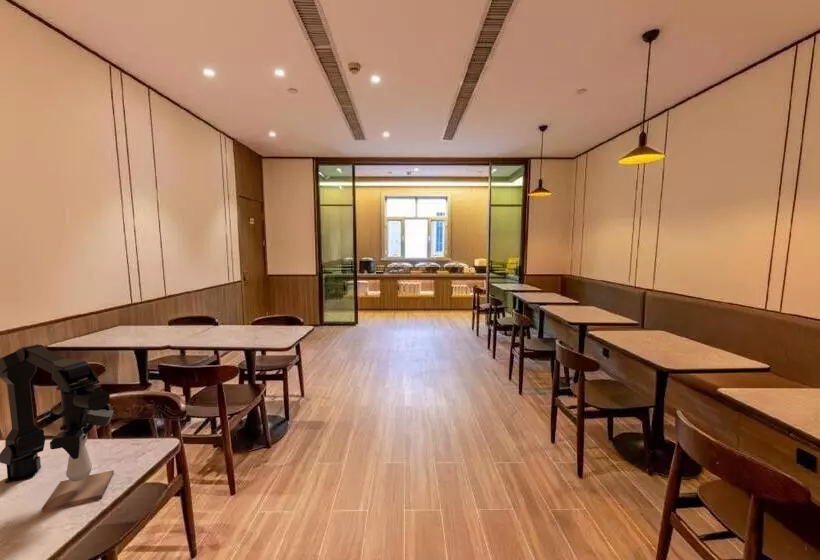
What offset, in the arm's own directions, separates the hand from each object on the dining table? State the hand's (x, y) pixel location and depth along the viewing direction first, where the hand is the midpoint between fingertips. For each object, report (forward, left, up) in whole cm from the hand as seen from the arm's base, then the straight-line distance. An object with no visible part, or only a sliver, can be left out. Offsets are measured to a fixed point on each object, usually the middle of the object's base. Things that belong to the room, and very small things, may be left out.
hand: (78, 455), depth 108 cm
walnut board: (0, 0, -11) cm, 11 cm away
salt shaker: (0, 0, -7) cm, 7 cm away
